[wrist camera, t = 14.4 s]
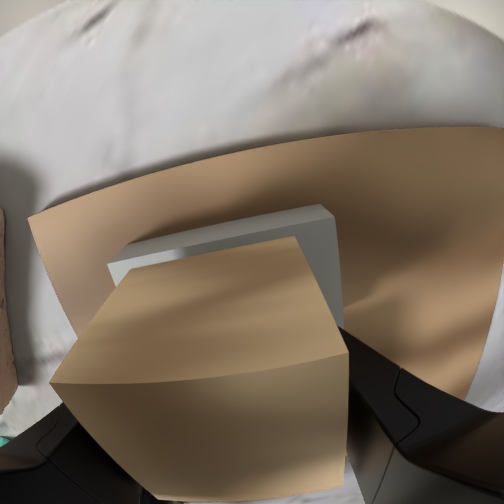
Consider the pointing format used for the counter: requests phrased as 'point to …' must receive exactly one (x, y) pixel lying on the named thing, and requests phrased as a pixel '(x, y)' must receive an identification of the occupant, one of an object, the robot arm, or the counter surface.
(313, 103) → the counter surface
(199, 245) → the grey slab
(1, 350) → the brick
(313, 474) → the maple cube
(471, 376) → the baseplate
